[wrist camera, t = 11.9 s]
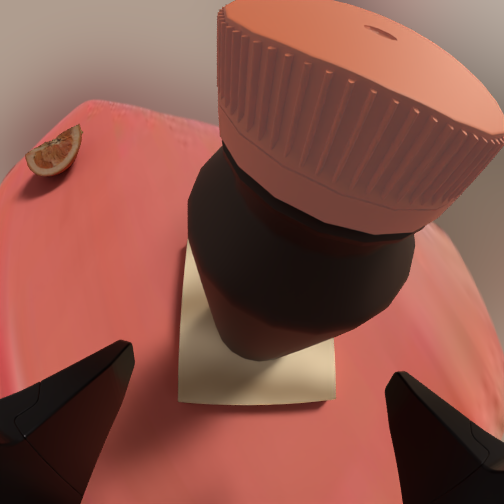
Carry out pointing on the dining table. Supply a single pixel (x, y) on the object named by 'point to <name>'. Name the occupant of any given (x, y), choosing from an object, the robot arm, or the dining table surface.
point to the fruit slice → (55, 153)
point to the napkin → (242, 361)
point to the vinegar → (326, 168)
